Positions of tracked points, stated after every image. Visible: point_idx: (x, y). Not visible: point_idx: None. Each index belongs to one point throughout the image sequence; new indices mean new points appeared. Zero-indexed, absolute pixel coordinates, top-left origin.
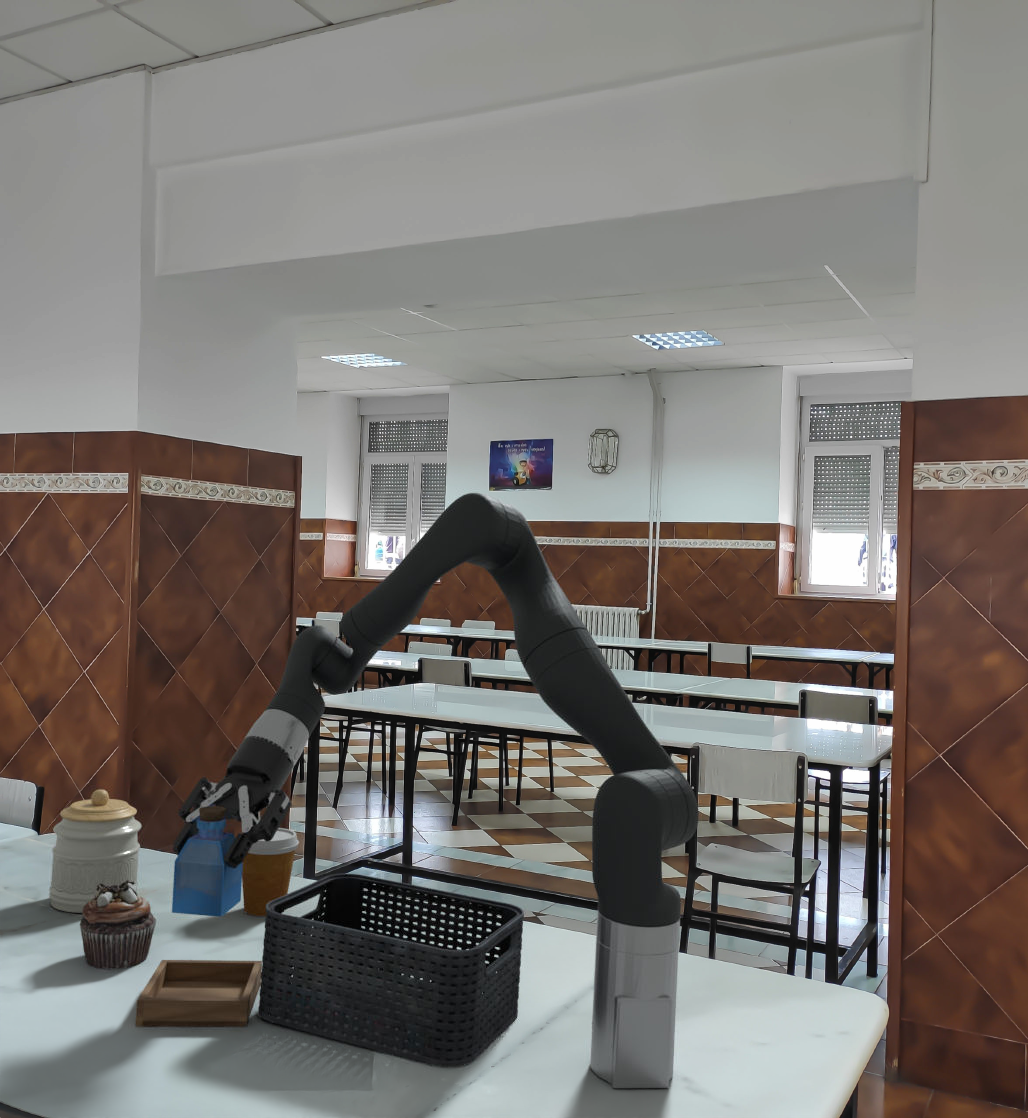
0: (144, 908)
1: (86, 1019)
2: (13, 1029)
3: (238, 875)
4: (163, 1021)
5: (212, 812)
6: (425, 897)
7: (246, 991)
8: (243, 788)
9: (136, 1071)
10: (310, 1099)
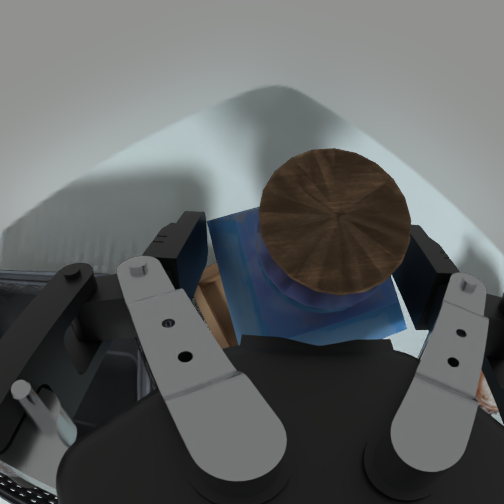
0: (480, 381)
1: None
2: (404, 166)
3: None
4: None
5: (287, 164)
6: (17, 496)
7: (204, 303)
8: (233, 447)
9: (234, 153)
10: (74, 193)
